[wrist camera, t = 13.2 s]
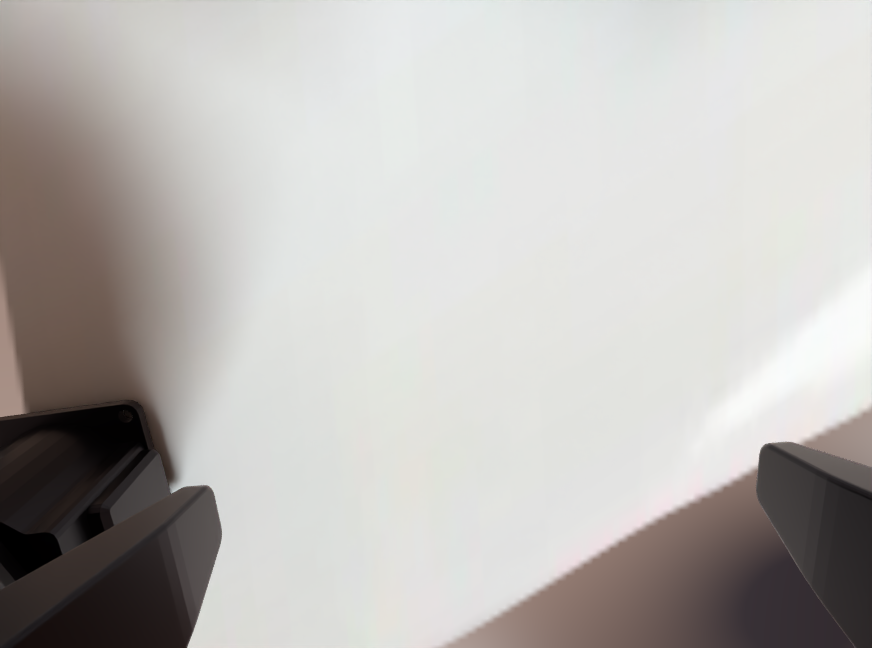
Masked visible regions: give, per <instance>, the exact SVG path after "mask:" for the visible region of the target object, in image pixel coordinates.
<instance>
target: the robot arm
mask: <svg viewBox="0 0 872 648" xmlns="http://www.w3.org/2000/svg"><path fill="white" fill-rule="evenodd" d="M123 410H127V411H129V412H131V414H132V418H128V417H126V416H125V415H124V413H123ZM756 492H757V497H758V500H759V503H760V505H761V507H762V508H763V510H764V512H765V513H766V515H767V517H768V518H769V520H770V521H771V523H772V525H773V526H774V528H775V530H776V531H777V533H778V535H779V536H780V538H781V540H782V541H783V543H784V545H785V546H786V548H787V549H788V551H789V553H790V554H791V556H792V558H793V559H794V561H795V563H796V564H797V566H798V568H799V569H800V571H801V573H802V574H803V576H804V577H805V579H806V580H807V582H808V583H809V585H810V586H811V588H812V589H813V591H814V592H815V594H816V595H817V596H818V598H819V599H820V601H821V602H822V604H823V605H824V606H825V607H826V609H827V610H828V612H829V613H830V614H831V616H832V617H833V618H834V620H835V621H836V622H837V624H838V625H839V626H840V628H841V629H842V630H843V632H844V633H845V634H846V636H847V637H848V638H849V640H850V641H851V642H852V644H853V645H854V646H855V648H872V467H870V466H866V465H863V464H860V463H857V462H854V461H850V460H847V459H844V458H841V457H838V456H835V455H831V454H828V453H825V452H822V451H818V450H815V449H812V448H809V447H806V446H803V445H799V444H796V443H793V442H778V443H768V444H765V445H764V446H763V447H762V448H761V450H760V454H759V464H758V474H757V483H756ZM221 539H222V529H221V523H220V519H219V514H218V510H217V505H216V500H215V496H214V492H213V490H212V488H210V487H209V486H207V485H200V486H187V487H183V488H181V489H179V490H177V491H176V492H174V493H172V494H171V493H170V489H169V486H168V482H167V478H166V475H165V471H164V468H163V464H162V460H161V457H160V454H159V453H158V452H157V451H156V450H155V449H154V447H153V443H152V440H151V436H150V432H149V429H148V425H147V421H146V418H145V414H144V411H143V409H142V407H141V405H140V404H138V403H137V402H135V401H133V400H124V401H117V402H109V403H102V404H95V405H87V406H80V407H73V408H65V409H58V410H51V411H43V412H36V413H28V414H21V415H14V416H7V417H0V648H187V646H188V643H189V641H190V638H191V636H192V633H193V631H194V628H195V625H196V622H197V619H198V616H199V613H200V609H201V606H202V603H203V600H204V596H205V593H206V590H207V586H208V583H209V580H210V577H211V573H212V570H213V567H214V564H215V560H216V557H217V554H218V551H219V547H220V544H221Z"/></svg>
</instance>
